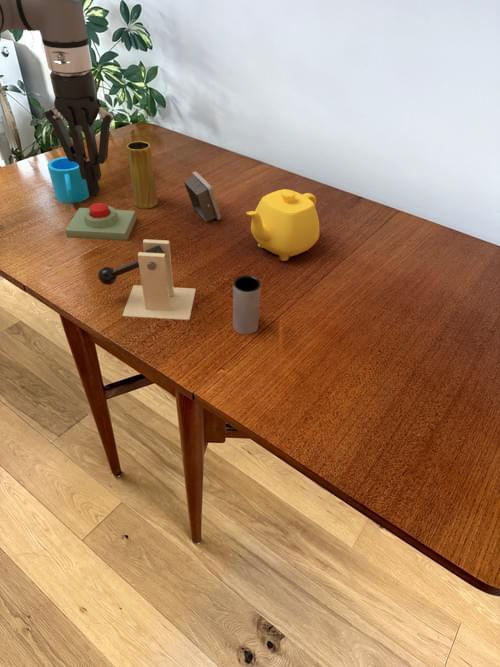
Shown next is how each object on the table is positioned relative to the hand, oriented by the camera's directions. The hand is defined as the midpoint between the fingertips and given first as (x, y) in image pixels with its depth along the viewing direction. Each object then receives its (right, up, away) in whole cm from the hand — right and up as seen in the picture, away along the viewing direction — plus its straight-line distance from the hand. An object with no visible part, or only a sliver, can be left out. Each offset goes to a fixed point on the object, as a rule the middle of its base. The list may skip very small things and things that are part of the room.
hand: (94, 193), depth 99 cm
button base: (0, -6, +6) cm, 9 cm away
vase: (+7, +2, +15) cm, 17 cm away
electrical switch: (+22, -2, +12) cm, 26 cm away
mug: (-10, +3, +16) cm, 19 cm away
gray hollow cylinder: (+33, -30, -17) cm, 47 cm away
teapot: (+40, -11, +3) cm, 41 cm away
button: (0, -4, +3) cm, 5 cm away
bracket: (+17, -25, -13) cm, 33 cm away
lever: (+13, -20, -18) cm, 30 cm away
